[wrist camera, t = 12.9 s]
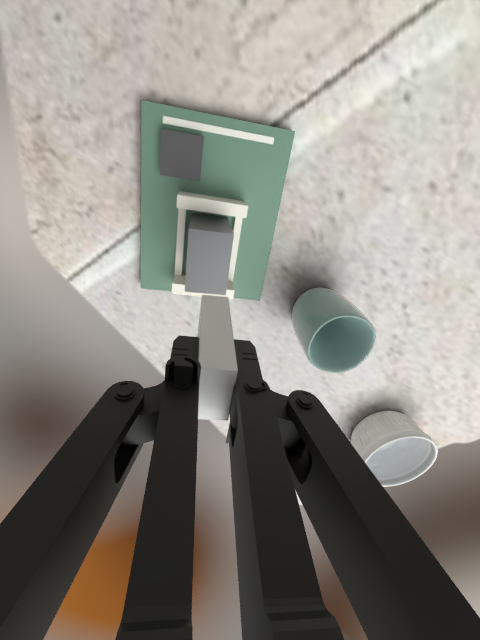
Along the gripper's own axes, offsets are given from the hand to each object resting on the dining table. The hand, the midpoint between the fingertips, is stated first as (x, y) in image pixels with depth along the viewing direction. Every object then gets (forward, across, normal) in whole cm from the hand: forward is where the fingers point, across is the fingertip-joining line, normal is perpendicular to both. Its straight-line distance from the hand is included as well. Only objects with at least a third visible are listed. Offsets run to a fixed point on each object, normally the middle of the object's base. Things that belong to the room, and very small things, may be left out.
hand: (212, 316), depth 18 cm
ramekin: (+21, +35, -32) cm, 52 cm away
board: (+21, 0, +2) cm, 21 cm away
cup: (+21, +15, -8) cm, 27 cm away
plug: (+19, 0, -1) cm, 19 cm away
